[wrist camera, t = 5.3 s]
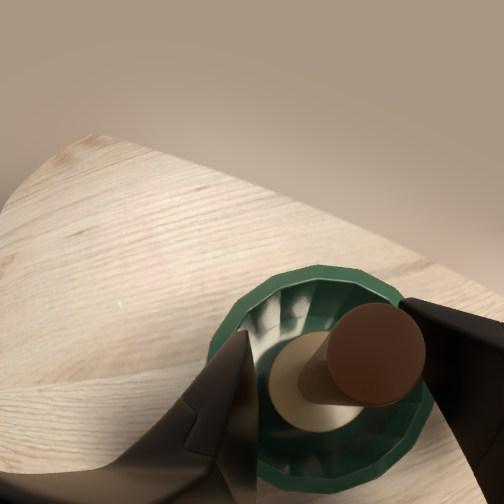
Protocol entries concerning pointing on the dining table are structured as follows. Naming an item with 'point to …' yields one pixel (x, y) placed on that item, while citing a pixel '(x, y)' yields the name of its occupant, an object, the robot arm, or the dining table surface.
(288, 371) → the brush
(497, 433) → the robot arm
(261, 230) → the dining table surface
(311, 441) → the green round pot
